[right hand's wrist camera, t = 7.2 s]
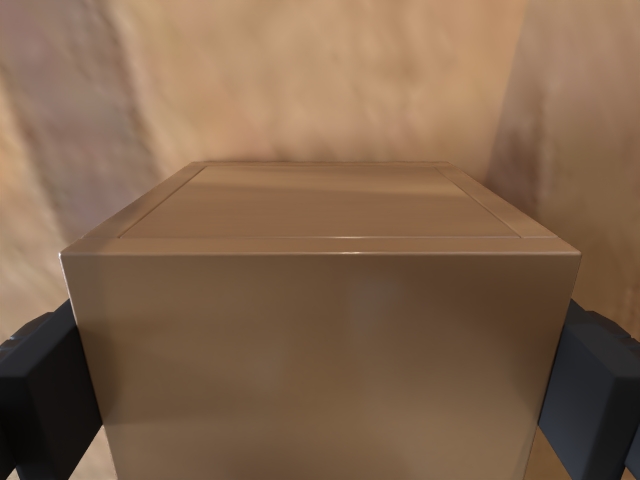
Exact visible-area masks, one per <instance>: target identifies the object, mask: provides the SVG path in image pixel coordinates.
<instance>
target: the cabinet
mask: <svg viewBox="0 0 640 480" xmlns="http://www.w3.org/2000/svg"><path fill="white" fill-rule="evenodd" d="M581 257H582V253H581V252H580V251H579V250H577V249H576V248H574V247H573V246H571V245H570V244H568V243H567V242H565V241H564V240H562V239H560V238H559V236H557V235H556V234H554V233H553V232H551V231H550V230H548V229H547V228H545V227H544V226H542V225H541V224H539V223H538V222H536V221H535V220H533V219H532V218H530V217H529V216H527V215H526V214H524V213H523V212H521V211H520V210H518V209H517V208H515V207H514V206H513V205H511V204H510V203H508V202H507V201H505V200H504V199H502V198H501V197H499V196H498V195H496V194H495V193H493V192H492V191H490V190H489V189H487V188H486V187H484V186H483V185H481V184H480V183H478V182H477V181H475V180H474V179H472V178H471V177H469V176H468V175H467V174H465V173H464V172H462V171H461V170H459V169H458V168H456V167H454V166H453V165H451V164H450V163H448V162H191V163H190V164H188V165H187V166H185V167H184V168H182V169H181V170H179V171H178V172H176V173H175V174H173V175H172V176H171V177H169V178H168V179H166V180H165V181H163V182H162V183H160V184H159V185H157V186H156V187H154V188H153V189H151V190H150V191H148V192H147V193H146V194H144V195H143V196H141V197H140V198H138V199H137V200H135V201H134V202H132V203H131V204H129V205H128V206H126V207H125V208H123V209H122V210H121V211H119V212H118V213H116V214H115V215H113V216H112V217H110V218H109V219H107V220H106V221H104V222H103V223H101V224H100V225H99V226H97V227H96V228H94V229H93V230H91V231H90V232H88V233H87V234H85V235H84V236H82V238H81V239H78V240H77V241H75V242H74V243H72V244H71V245H69V246H68V247H66V248H65V249H64V250H62V251H61V252H59V259H60V263H61V267H62V271H63V275H64V278H65V282H66V286H67V290H68V294H69V298H70V301H71V305H72V309H73V313H74V317H75V321H76V325H77V328H78V332H79V336H80V340H81V344H82V348H83V352H84V355H85V359H86V363H87V367H88V371H89V375H90V378H91V382H92V386H93V390H94V394H95V398H96V402H97V405H98V409H99V413H100V417H101V421H102V425H103V428H104V432H105V436H106V440H107V444H108V448H109V452H110V455H111V459H112V463H113V467H114V471H115V475H116V478H117V480H523V479H524V475H525V472H526V468H527V464H528V460H529V456H530V452H531V449H532V445H533V441H534V437H535V433H536V429H537V426H538V422H539V418H540V414H541V410H542V406H543V403H544V399H545V395H546V391H547V387H548V383H549V380H550V376H551V372H552V368H553V364H554V360H555V357H556V353H557V349H558V345H559V341H560V338H561V334H562V330H563V326H564V322H565V318H566V315H567V311H568V307H569V303H570V299H571V295H572V292H573V288H574V284H575V280H576V276H577V272H578V269H579V265H580V261H581Z"/></svg>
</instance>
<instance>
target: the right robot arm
mask: <svg viewBox="0 0 640 480" xmlns="http://www.w3.org/2000/svg"><path fill="white" fill-rule="evenodd" d="M538 425H539V427H540V429H541V430H542V432H543V433H544V435H545V437H546V438H547V440H548V441H549V443H550V445H551V446H552V448H553V450H554V451H555V453H556V454H557V456H558V458H559V459H560V461H561V462H562V464H563V466H564V467H565V469H566V470H567V472H568V474H569V475H570V477H571V478H572V480H621V477H622V475H623V472H624V469H625V467H627V468H628V469H629V471H630V472H631V473H632V475H633V476H634V477H635V478H636V480H640V343H639V342H638V341H637V340H635V339H634V338H631V335H630V334H628V333H627V332H626V331H625V330H624V329H622V328H621V327H620V326H619V325H618V324H616V323H615V322H613V321H612V320H610V319H608V318H606V317H604V316H602V315H600V314H598V313H596V312H594V311H585V310H584V309H583V308H582V307H580V306H579V305H578V304H577V303H576V302H575V301H574V300H573V299H570V303H569V307H568V311H567V315H566V318H565V322H564V326H563V330H562V334H561V338H560V341H559V345H558V349H557V353H556V357H555V360H554V364H553V368H552V372H551V376H550V380H549V383H548V387H547V391H546V395H545V399H544V403H543V406H542V410H541V414H540V418H539V422H538ZM101 426H102V421H101V417H100V413H99V409H98V405H97V402H96V398H95V394H94V390H93V386H92V382H91V378H90V375H89V371H88V367H87V363H86V359H85V355H84V352H83V348H82V344H81V340H80V336H79V332H78V328H77V325H76V321H75V317H74V313H73V309H72V305H71V301H70V298H69V299H68V300H67V301H66V302H65V303H63V304H62V305H61V306H60V307H59V308H58V309H57V310H56V311H54V312H47V313H45V314H43V315H42V316H40V317H38V318H36V319H34V320H32V321H30V322H28V323H26V324H25V325H24V326H23V327H22V328H20V329H19V330H18V331H17V332H16V333H14V334H13V335H12V336H11V337H10V340H6V341H5V342H4V343H3V344H1V345H0V480H6V479H7V478H8V476H9V475H10V474H11V472H12V471H13V470H14V469H15V468H16V470H17V473H18V476H19V478H20V480H68V479H69V477H70V476H71V474H72V473H73V471H74V469H75V468H76V466H77V465H78V463H79V461H80V460H81V458H82V457H83V455H84V453H85V452H86V450H87V449H88V447H89V445H90V444H91V442H92V441H93V439H94V437H95V436H96V434H97V433H98V431H99V429H100V428H101Z"/></svg>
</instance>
